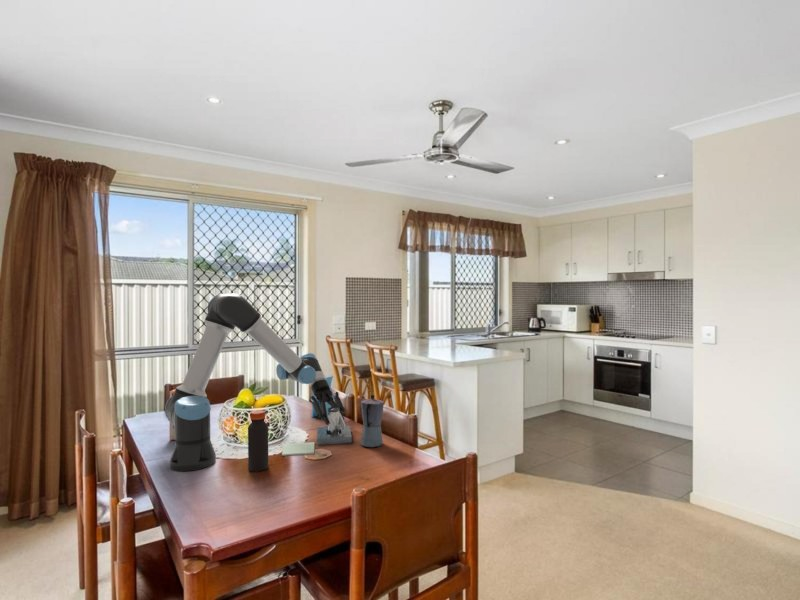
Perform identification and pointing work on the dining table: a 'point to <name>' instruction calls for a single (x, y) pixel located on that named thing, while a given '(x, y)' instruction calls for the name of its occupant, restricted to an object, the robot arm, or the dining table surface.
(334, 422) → the silver canister
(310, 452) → the mat
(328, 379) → the blue notched block
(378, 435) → the moka pot
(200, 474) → the dining table surface
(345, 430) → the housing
